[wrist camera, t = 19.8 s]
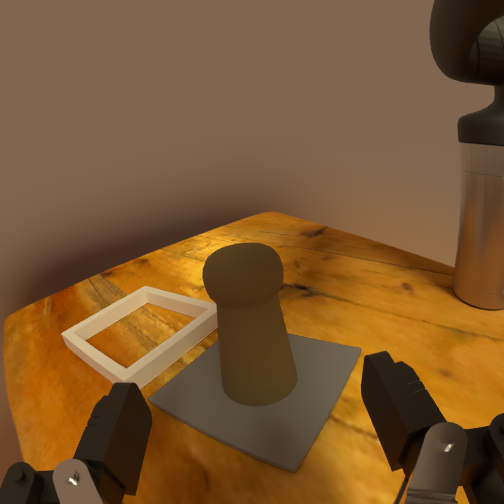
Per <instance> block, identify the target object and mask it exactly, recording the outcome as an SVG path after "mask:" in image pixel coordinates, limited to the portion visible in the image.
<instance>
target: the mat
mask: <svg viewBox="0 0 504 504" xmlns="http://www.w3.org/2000/svg"><path fill="white" fill-rule="evenodd" d="M287 335H288V339H289V343H290V347H291V351H292V355H293V359H294V363H295V367H296V371H297V377H298V380H297V383H296V386H295V388H294V389H293V391H292V392H291V393H290V394H289V395H288V396H287V397H285V398H284V399H282V400H280V401H279V402H276V403H273V404H270V405H267V406H255V407H252V406H246V405H241V404H239V403H237V402H235V401H233V400H231V399H230V398H229V397H228V396H227V395H226V394H225V392H224V390H223V387H222V378H221V365H220V352H219V340H217V341H216V342H215V343H214V344H213V345H212V346H210V347H209V348H208V349H207V350H206V351H205V352H203V353H202V354H201V355H200V356H199V357H198V358H196V359H195V360H194V361H193V362H192V363H190V364H189V365H188V366H187V367H186V368H185V369H183V370H182V371H181V372H180V373H179V374H177V375H176V376H175V377H174V378H172V379H171V380H170V381H169V382H168V383H166V384H165V385H164V386H163V387H162V388H160V389H159V390H158V391H157V392H155V393H154V394H153V395H152V396H150V397H149V398H148V400H149V402H150V403H151V404H153V405H155V406H156V407H158V408H159V409H161V410H163V411H164V412H166V413H168V414H169V415H171V416H173V417H175V418H176V419H178V420H180V421H182V422H183V423H185V424H187V425H189V426H191V427H192V428H194V429H196V430H198V431H200V432H202V433H204V434H206V435H207V436H209V437H211V438H213V439H215V440H217V441H219V442H222V443H224V444H226V445H228V446H230V447H232V448H234V449H236V450H239V451H241V452H243V453H245V454H247V455H250V456H252V457H254V458H257V459H259V460H262V461H264V462H266V463H269V464H271V465H274V466H277V467H279V468H282V469H285V470H287V471H290V472H293V473H295V472H296V470H297V469H298V467H299V466H300V464H301V462H302V461H303V459H304V458H305V456H306V454H307V453H308V451H309V450H310V448H311V446H312V445H313V443H314V441H315V440H316V438H317V436H318V435H319V433H320V431H321V429H322V428H323V426H324V424H325V422H326V421H327V419H328V417H329V415H330V413H331V412H332V410H333V408H334V406H335V404H336V402H337V400H338V399H339V397H340V395H341V393H342V391H343V389H344V387H345V385H346V383H347V381H348V379H349V377H350V375H351V373H352V371H353V369H354V367H355V364H356V362H357V360H358V358H359V356H360V354H361V348H359V347H353V346H347V345H342V344H337V343H332V342H327V341H321V340H317V339H312V338H307V337H302V336H297V335H293V334H288V333H287Z"/></svg>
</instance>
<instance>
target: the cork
mask: <svg viewBox="0 0 504 504" xmlns="http://www.w3.org/2000/svg"><path fill="white" fill-rule="evenodd" d="M202 277H203V282H204V286H205V288H206V291H207V293H208V295H209V297H210V298H211V299H212V300H213V301H214V302H216V306H217V322H218V338H219V352H220V365H221V378H222V387H223V390H224V392H225V394H226V395H227V396H228V397H229V398H230V399H231V400H233V401H235V402H237V403H239V404H241V405H246V406H252V407H255V406H267V405H270V404H273V403H276V402H279V401H280V400H282V399H284V398H285V397H287V396H288V395H289V394H290V393H291V392H292V391H293V389H294V388H295V386H296V383H297V380H298V377H297V371H296V367H295V363H294V359H293V355H292V351H291V347H290V343H289V339H288V335H287V331H286V327H285V323H284V319H283V315H282V311H281V307H280V303H279V299H278V295H277V294H278V292H279V290H280V288H281V287H282V283H283V278H284V275H283V266H282V262H281V259H280V257H279V255H278V254H277V253H276V251H275V250H274V249H273V248H271V247H270V246H267V245H264V244H261V243H239V244H234V245H229V246H226V247H223V248H220V249H218V250H216V251H215V252H214V253H212V254H211V255H210V256H209V257H208V258H207V260H206V262H205V265H204V267H203V276H202Z"/></svg>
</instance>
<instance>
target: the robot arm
mask: <svg viewBox="0 0 504 504" xmlns="http://www.w3.org/2000/svg"><path fill="white" fill-rule="evenodd" d="M430 45H431V50H432V54H433V57H434V60H435V62H436V64H437V66H438V67H439V69H440V70H441V71H442V72H443V73H444V74H445V75H446V76H447V77H449V78H451V79H454V80H457V81H460V82H465V83H475V84H484V85H492V86H494V89H495V98H494V101H493V103H492V104H490V105H489V106H488V107H486V108H484V109H482V110H480V111H477V112H474V113H471V114H467V115H465V116H462V117H461V118H460V119H459V120H458V141H460V142H459V154H460V216H459V232H458V245H457V254H456V262H455V270H454V278H453V285H452V288H453V291H454V293H455V294H456V295H457V296H458V297H459V298H460V299H461V300H463V301H465V302H466V303H468V304H471V305H473V306H476V307H480V308H484V309H503V308H504V0H435V1H434V5H433V9H432V13H431V19H430ZM361 394H362V399H363V402H364V404H365V407H366V409H367V411H368V414H369V416H370V418H371V421H372V423H373V426H374V428H375V430H376V433H377V435H378V438H379V440H380V442H381V445H382V447H383V450H384V452H385V455H386V457H387V460H388V462H389V465H390V467H391V470H392V472H393V471H395V470H398V469H401V468H402V469H403V471H404V474H405V476H404V478H403V481H402V483H401V486H400V488H399V491H398V493H397V495H396V498H395V500H394V502H393V504H458V502H457V501H455V495H456V491H457V488H458V486H463V488H464V491H465V493H466V496H467V498H468V501H469V503H470V504H504V413H502V414H499V415H498V416H496V417H495V418H494V419H493V420H492V422H491V424H490V425H489V426H485V427H479V428H473V429H463V428H462V427H461V426H459V425H457V424H455V423H452V422H447V421H446V419H445V418H444V416H443V415H442V413H441V412H440V410H439V408H438V407H437V405H436V404H435V402H434V400H433V399H432V397H431V396H430V394H429V393H428V391H427V389H426V390H425V386H424V385H423V383H422V382H421V381H420V379H419V377H418V376H417V374H416V373H415V371H414V370H413V368H411V367H410V366H408V365H407V364H405V363H404V362H402V361H400V362H397V363H394V361H393V360H392V358H391V356H390V355H389V353H388V352H387V351H382V352H378V353H374V354H370V355H366V356H365V358H364V364H363V373H362V381H361ZM151 425H152V416H151V411H150V409H149V407H148V405H147V403H146V401H145V399H144V397H143V395H142V393H141V391H140V389H139V387H138V385H137V384H136V383H134V382H116V383H114V384H113V386H112V389H111V391H110V393H109V396H103V397H102V399H101V400H100V401H99V402H98V403H97V404H96V405H95V407H94V409H93V412H92V414H91V418H89V421H88V423H87V426H86V428H85V430H84V432H83V435H82V437H81V440H80V442H79V444H78V447H77V449H76V452H75V454H74V457H73V459H68V460H65V461H63V462H61V463H60V464H59V465H57V467H56V468H55V470H51V471H35V470H34V469H33V468H32V467H31V466H30V465H29V464H28V463H25V462H18V463H15V464H13V465H12V466H11V467H10V468H9V469H8V471H7V473H6V475H5V478H4V480H3V483H2V486H1V488H0V504H124V502H123V496H124V494H127V495H134V496H135V495H136V490H137V485H138V481H139V476H140V472H141V467H142V463H143V459H144V454H145V450H146V446H147V442H148V438H149V433H150V429H151Z"/></svg>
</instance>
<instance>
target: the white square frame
mask: <svg viewBox="0 0 504 504" xmlns="http://www.w3.org/2000/svg"><path fill="white" fill-rule="evenodd" d="M146 303H150V304H153V305H156V306H159V307H162V308H165V309H168V310H171V311H175V312H178V313H181V314H184V315H188V316H191V317H194V318H196V319H194V320H193V321H192V322H190V323H189V324H188V325H186V326H185V327H183V328H182V329H181V330H179V331H178V332H177V333H175V334H174V335H173V336H171V337H170V338H168V339H167V340H166V341H164V342H163V343H162V344H160V345H159V346H157V347H156V348H155V349H153V350H152V351H150V352H149V353H148V354H146V355H145V356H144V357H142V358H141V359H139V360H138V361H137V362H135V363H134V364H132V365H131V366H130V367H128V368H127V369H126V368H124V367H123V366H121V365H119V364H118V363H116V362H115V361H113V360H112V359H110V358H109V357H107V356H106V355H104V354H103V353H101V352H100V351H98V350H97V349H96V348H94V347H93V346H91V345H90V344H88V343H87V342H86V341H85V340H87V339H89V338H90V337H92V336H93V335H95V334H97V333H98V332H100V331H102V330H103V329H105V328H107V327H108V326H110V325H112V324H113V323H115V322H117V321H118V320H120V319H121V318H123V317H125V316H126V315H128V314H130V313H131V312H133V311H135V310H136V309H138V308H140V307H141V306H143V305H145V304H146ZM217 328H218V322H217V306H216V303H211V302H207V301H203V300H199V299H195V298H191V297H187V296H183V295H179V294H175V293H171V292H167V291H163V290H159V289H156V288H152V287H148V286H144V287H142V288H140V289H139V290H137V291H135V292H133V293H131V294H130V295H128V296H126V297H124V298H123V299H121V300H119V301H117V302H115V303H114V304H112V305H110V306H108V307H107V308H105V309H103V310H101V311H99V312H98V313H96V314H94V315H92V316H91V317H89V318H87V319H85V320H84V321H82V322H80V323H79V324H77V325H75V326H73V327H72V328H70V329H68V330H66V331H65V332H63V333H61V334H62V337H63V339H64V341H65V343H66V345H67V347H68V348H70V349H71V350H72V351H73V352H74V353H75V354H77V355H78V356H79V357H80V358H81V359H83V360H84V361H85V362H86V363H87V364H89V365H90V366H91V367H92V368H94V369H95V370H96V371H98V372H99V373H100V374H101V375H103V376H104V377H105V378H107V379H108V380H109V381H111V382H112V383H113V384H114V383H116V382H134V383H136V384H137V385H138V387H139V389H142V388H143V387H144V386H145V385H147V384H148V383H149V382H151V381H152V380H153V379H154V378H156V377H157V376H158V375H160V374H161V373H162V372H163V371H165V370H166V369H167V368H168V367H170V366H171V365H172V364H173V363H175V362H176V361H177V360H178V359H180V358H181V357H182V356H183V355H185V354H186V353H187V352H188V351H190V350H191V349H192V348H193V347H195V346H196V345H197V344H198V343H199V342H201V341H202V340H203V339H204V338H206V337H207V336H208V335H209V334H210V333H212V332H213V331H214V330H215V329H217Z"/></svg>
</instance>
